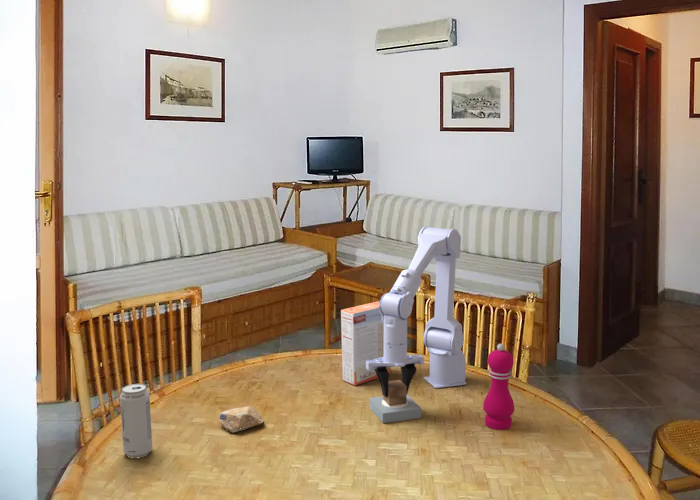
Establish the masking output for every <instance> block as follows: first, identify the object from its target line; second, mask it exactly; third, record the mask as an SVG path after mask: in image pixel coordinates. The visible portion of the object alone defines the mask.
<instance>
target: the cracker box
mask: <svg viewBox="0 0 700 500" xmlns="http://www.w3.org/2000/svg"><path fill="white" fill-rule="evenodd" d="M379 305H380V301H374V302H370V303H365V304H361V305H356V306H353V307H347V308H343V309H341V310H340V326H341V327H340V329H341V330H340V333H341V338H340V339H341V372H342V373H341V374H342V375H341V376H342V377H341V378H342V379H341V380H342V381H343V382H345V383H348V384H350V385H353V386H354V387H355V386H359V385H362V384H364V383H368V382H371V381H373V380H376V379H377V380H378V376H377V374H376V372H375V370H374V369H372V370H371V371H368V370H367V369H366V361H368V360H373V359H377V358H381V357H384V323H383V322H382V321H381V314H380V312H379ZM386 369H387V372H388V373H390V375H391V374H392V373H391V372H392V367H388V368H386Z"/></svg>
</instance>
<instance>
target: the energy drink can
mask: <svg viewBox="0 0 700 500" xmlns="http://www.w3.org/2000/svg"><path fill="white" fill-rule="evenodd" d="M150 401H151V399H150V392H149V391H148V390H147V386H146V385H145V384H142V383H134V384H133V383H132V384H128V385H125V386H124V387H122V391H121V394H120V396H119V403H120V419H121V432H122V446H123V447H122V448H123V454H125V455H126V454H127V455H126V457H127V456H129V457H133V458H137V457H142V458H144V457H143V456H145V455H147V454H148V453H149V452H150V453H151V450H152V449H153V434H152V433H153V432H152V419H151V418H152V417H151V416H152V414H151V402H150ZM150 453H149V454H150ZM149 454H148V455H149ZM148 455H147V456H148ZM129 457H128V458H129ZM145 457H146V456H145ZM133 458H132V459H133ZM137 459H138V458H137Z"/></svg>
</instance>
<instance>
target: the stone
mask: <svg viewBox="0 0 700 500" xmlns="http://www.w3.org/2000/svg"><path fill="white" fill-rule="evenodd" d="M218 419H219V420H218V422H219V424H221V425H222V427H223V428H224V429H225V430H226V431H228V432H229V431H230V432H229V433H231V432H232V434H233V433H236V432H239V431H245V430H246V429H247V430H248V429H252V428H253V427H256V426H260V425H262V424H263V423H265V420H264V419H263V418H262V416H261V415H260V414H259V411H258V410H257V409H255V408H254V407H253V406H251V405H248V406H243V407H236V408H229V409H228V410H225V411H222V412H221V413H220V415H219V417H218ZM240 428H241V429H240Z"/></svg>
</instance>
